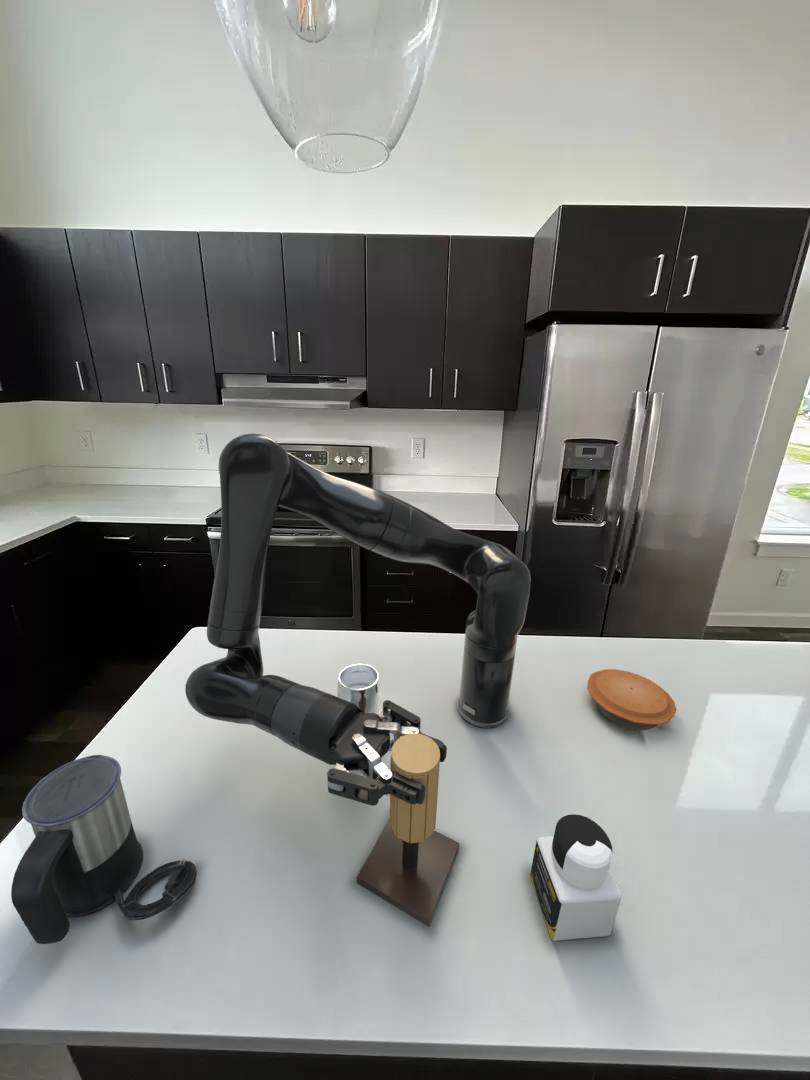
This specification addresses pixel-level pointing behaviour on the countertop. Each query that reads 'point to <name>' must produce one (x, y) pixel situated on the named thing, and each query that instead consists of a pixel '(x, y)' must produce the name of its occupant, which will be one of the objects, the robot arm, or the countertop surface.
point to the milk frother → (85, 852)
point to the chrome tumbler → (360, 687)
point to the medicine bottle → (575, 880)
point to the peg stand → (409, 872)
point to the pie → (630, 699)
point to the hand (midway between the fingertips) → (434, 773)
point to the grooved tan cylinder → (420, 764)
